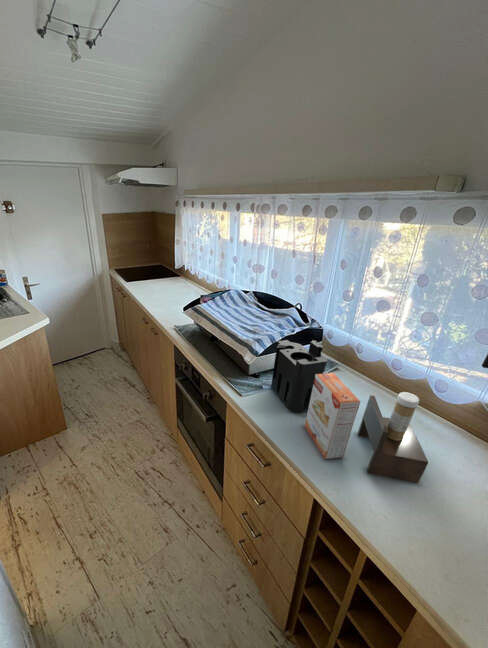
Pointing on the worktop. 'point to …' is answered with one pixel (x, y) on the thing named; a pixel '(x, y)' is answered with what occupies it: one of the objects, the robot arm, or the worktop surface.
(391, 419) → the sprinkles bottle
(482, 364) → the robot arm
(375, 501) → the worktop surface
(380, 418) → the spice shelf
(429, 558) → the worktop surface
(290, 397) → the black machined bracket
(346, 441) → the cracker box
